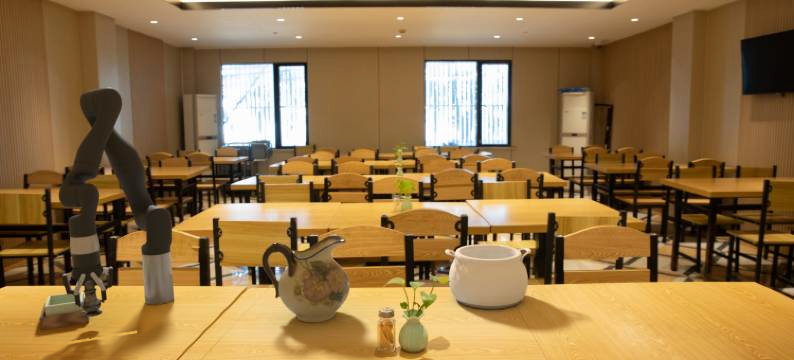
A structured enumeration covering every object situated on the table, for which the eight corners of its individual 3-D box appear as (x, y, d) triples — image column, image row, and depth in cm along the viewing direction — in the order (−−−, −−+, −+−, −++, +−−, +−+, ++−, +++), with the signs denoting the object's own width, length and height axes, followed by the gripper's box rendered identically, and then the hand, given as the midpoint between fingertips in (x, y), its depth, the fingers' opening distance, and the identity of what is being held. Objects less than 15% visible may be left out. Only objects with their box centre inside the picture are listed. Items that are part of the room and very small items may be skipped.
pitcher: (365, 313, 193) (362, 237, 190) (307, 335, 176) (302, 252, 173) (320, 299, 208) (316, 228, 205) (262, 319, 191) (258, 241, 188)
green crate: (84, 310, 199) (83, 291, 198) (83, 321, 188) (81, 301, 187) (50, 315, 195) (48, 295, 194) (46, 327, 184) (44, 306, 183)
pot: (520, 286, 220) (521, 239, 217) (540, 311, 193) (541, 258, 191) (441, 288, 219) (441, 241, 216) (450, 313, 192) (450, 261, 190)
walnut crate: (90, 310, 201) (89, 297, 200) (89, 324, 187) (87, 311, 187) (45, 316, 195) (44, 303, 195) (40, 332, 182) (39, 318, 181)
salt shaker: (95, 317, 179) (90, 278, 177) (77, 317, 180) (72, 278, 178) (107, 310, 185) (103, 272, 183) (90, 309, 186) (86, 272, 184)
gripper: (111, 243, 186) (117, 296, 188) (58, 250, 179) (64, 304, 182) (112, 249, 179) (118, 303, 182) (57, 256, 173) (63, 312, 175)
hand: (91, 303), depth 182 cm, fingers closed on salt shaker, 6 cm apart
